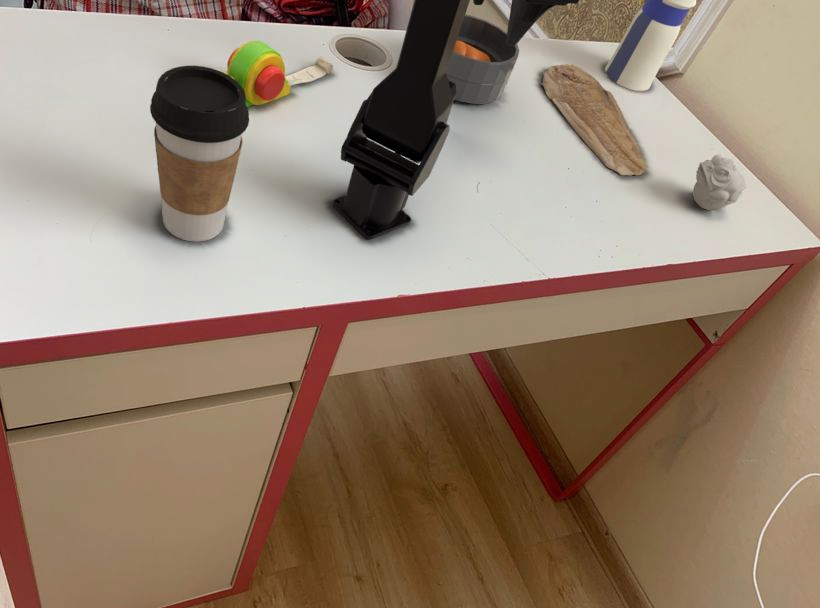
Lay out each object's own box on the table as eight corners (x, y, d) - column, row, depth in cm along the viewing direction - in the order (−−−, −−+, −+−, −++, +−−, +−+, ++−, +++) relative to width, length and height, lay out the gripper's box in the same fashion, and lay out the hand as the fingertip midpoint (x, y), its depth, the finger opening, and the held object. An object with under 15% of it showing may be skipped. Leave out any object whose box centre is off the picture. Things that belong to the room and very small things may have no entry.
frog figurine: (671, 185, 96) (702, 142, 90) (718, 196, 96) (751, 154, 91) (682, 214, 92) (715, 170, 86) (731, 225, 93) (766, 182, 87)
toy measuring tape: (197, 96, 84) (200, 44, 79) (310, 58, 96) (319, 10, 91) (233, 124, 82) (239, 73, 77) (344, 81, 94) (355, 34, 89)
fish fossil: (669, 175, 97) (674, 168, 96) (608, 181, 94) (612, 174, 93) (580, 67, 111) (583, 60, 110) (524, 69, 108) (527, 63, 107)
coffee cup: (154, 252, 67) (156, 114, 55) (145, 194, 71) (144, 55, 60) (243, 249, 70) (261, 117, 58) (228, 193, 74) (242, 61, 63)
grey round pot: (457, 115, 95) (474, 71, 90) (395, 64, 100) (408, 19, 95) (518, 97, 102) (537, 54, 97) (457, 50, 107) (472, 7, 102)
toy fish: (436, 65, 95) (452, 42, 93) (426, 50, 97) (442, 27, 95) (483, 87, 101) (500, 66, 99) (473, 73, 103) (489, 52, 101)
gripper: (659, -75, 71) (586, 69, 82) (568, -148, 81) (515, -11, 92) (569, -87, 66) (506, 66, 78) (485, -162, 77) (440, -17, 88)
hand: (493, 24), depth 84 cm, fingers open, 9 cm apart
